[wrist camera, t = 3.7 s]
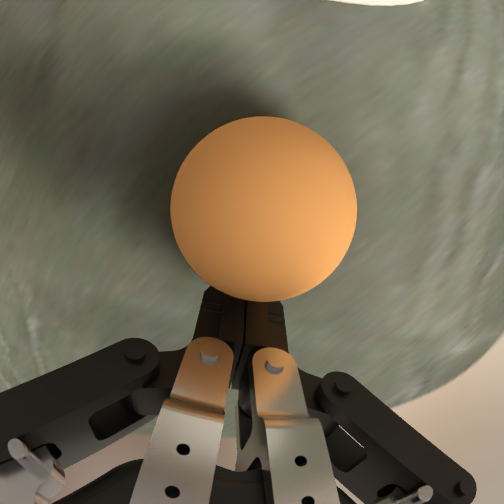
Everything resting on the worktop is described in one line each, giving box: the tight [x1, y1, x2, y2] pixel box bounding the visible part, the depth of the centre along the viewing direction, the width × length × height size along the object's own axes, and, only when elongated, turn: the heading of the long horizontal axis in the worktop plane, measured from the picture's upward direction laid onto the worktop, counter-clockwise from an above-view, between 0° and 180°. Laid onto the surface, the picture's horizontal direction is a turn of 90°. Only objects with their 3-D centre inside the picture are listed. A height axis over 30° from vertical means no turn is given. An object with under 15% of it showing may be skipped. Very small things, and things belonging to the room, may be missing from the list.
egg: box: [170, 116, 357, 302], centre depth 9 cm, size 5×5×5 cm
